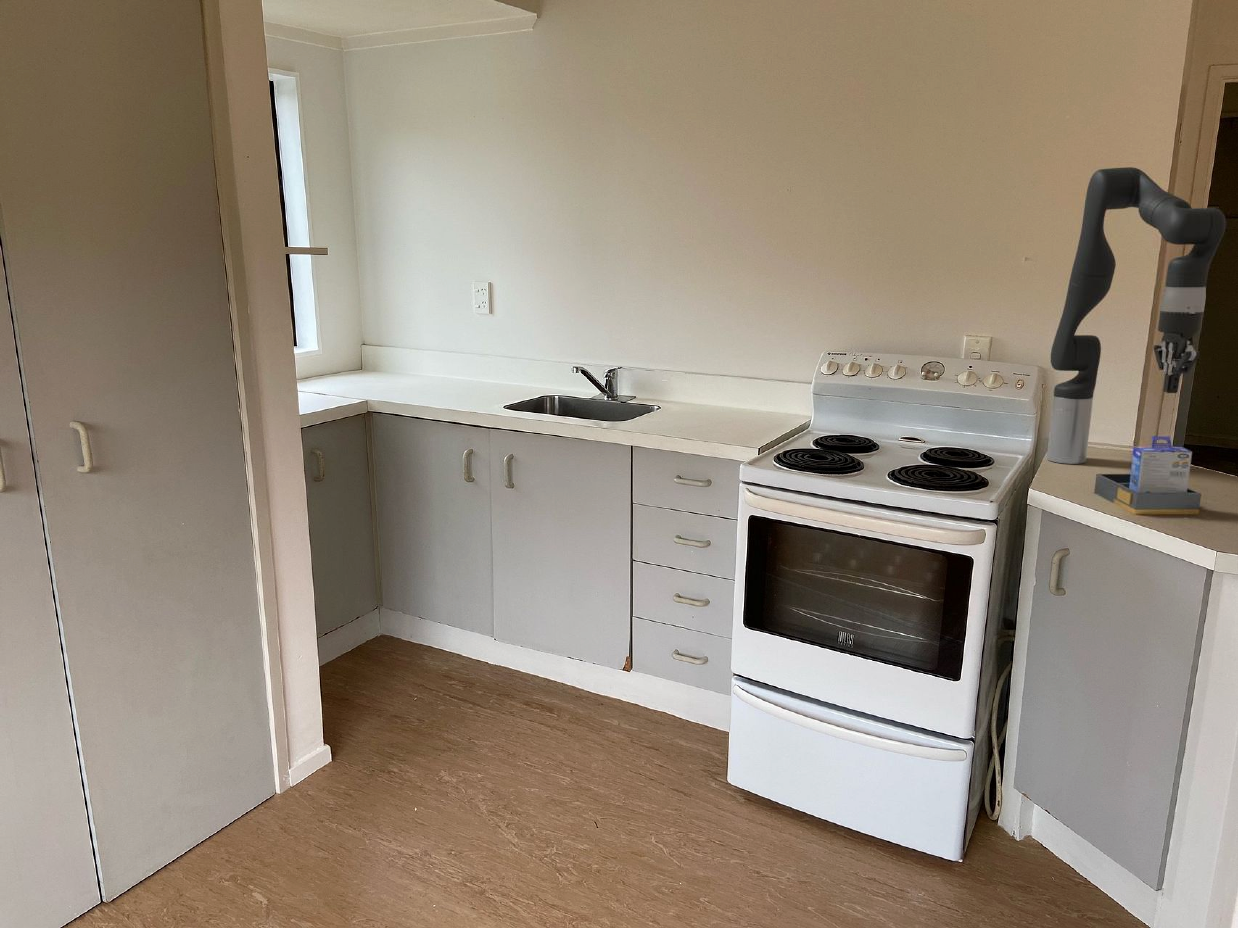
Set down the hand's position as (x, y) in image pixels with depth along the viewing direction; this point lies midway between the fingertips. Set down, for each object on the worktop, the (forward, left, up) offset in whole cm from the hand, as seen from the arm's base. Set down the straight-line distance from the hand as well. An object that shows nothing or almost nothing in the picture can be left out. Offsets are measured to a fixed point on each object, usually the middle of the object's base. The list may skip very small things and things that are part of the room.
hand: (1170, 392), depth 178 cm
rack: (-2, -1, -25) cm, 25 cm away
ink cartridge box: (+2, -1, -24) cm, 24 cm away
